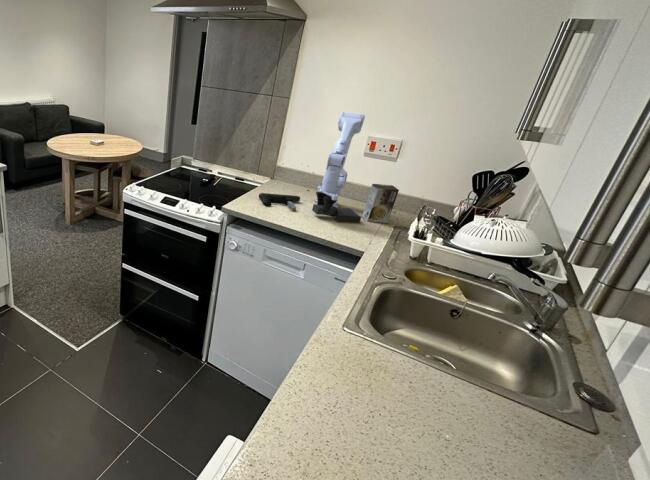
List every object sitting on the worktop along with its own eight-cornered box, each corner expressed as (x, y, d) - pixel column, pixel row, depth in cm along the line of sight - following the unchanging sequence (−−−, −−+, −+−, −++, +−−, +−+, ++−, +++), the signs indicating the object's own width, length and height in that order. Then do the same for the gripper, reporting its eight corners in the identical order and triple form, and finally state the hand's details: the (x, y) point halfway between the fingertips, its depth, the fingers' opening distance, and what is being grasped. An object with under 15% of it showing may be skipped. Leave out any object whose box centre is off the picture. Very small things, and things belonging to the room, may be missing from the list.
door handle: (309, 207, 180) (298, 194, 194) (266, 204, 180) (258, 191, 194) (307, 214, 181) (296, 200, 196) (264, 210, 181) (256, 197, 196)
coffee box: (381, 218, 182) (392, 185, 175) (387, 223, 176) (400, 189, 169) (361, 216, 182) (372, 183, 176) (367, 221, 176) (378, 187, 170)
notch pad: (327, 213, 182) (328, 207, 181) (347, 214, 183) (349, 208, 182) (337, 221, 173) (339, 215, 172) (359, 223, 174) (361, 216, 172)
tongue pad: (311, 210, 178) (313, 204, 177) (331, 211, 179) (333, 205, 178) (316, 214, 174) (318, 208, 173) (336, 215, 174) (338, 209, 173)
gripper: (314, 175, 177) (307, 203, 182) (329, 185, 163) (321, 215, 169) (329, 176, 177) (321, 204, 183) (346, 186, 164) (337, 216, 169)
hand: (322, 209), depth 176 cm, fingers closed on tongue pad, 5 cm apart
